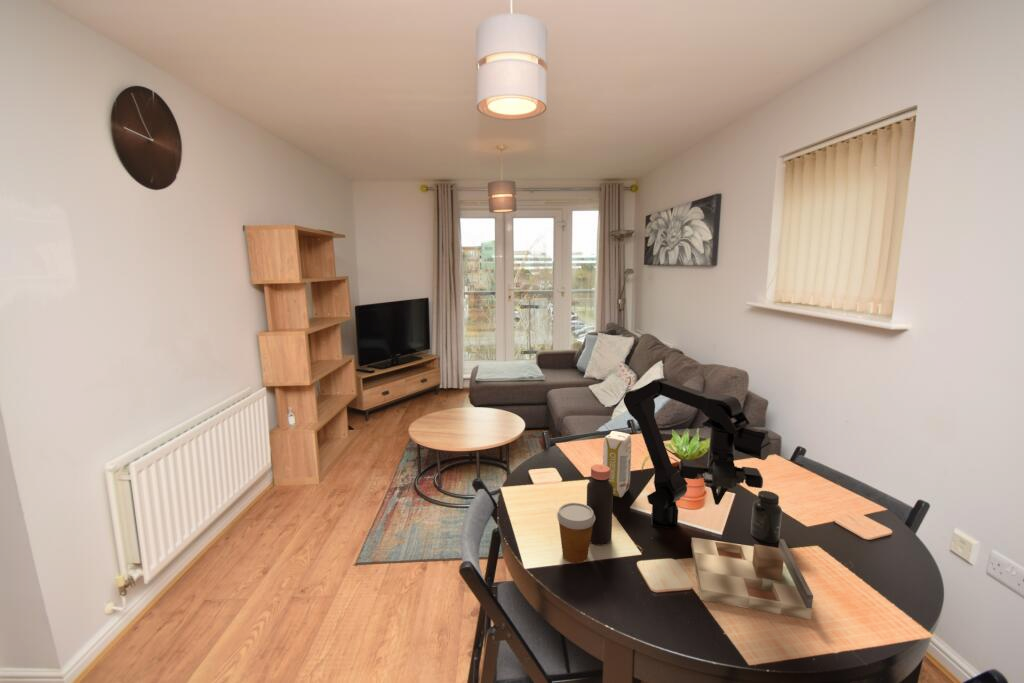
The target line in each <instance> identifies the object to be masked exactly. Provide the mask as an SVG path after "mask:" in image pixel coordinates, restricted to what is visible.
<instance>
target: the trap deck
mask: <svg viewBox="0 0 1024 683" xmlns="http://www.w3.org/2000/svg"><path fill="white" fill-rule="evenodd" d="M690 547H691V553H692V559H693V565H694V570H695V575H696V581H697V587H698V592H699V598H700V601H706V602H712V603H716V604H717V603H718V604H723V605H728V606H733V607H734V606H735V607H739V608H745V609H751V610H754V611H755V610H756V611H760V612H761V611H762V612H766V613H767V612H768V613H773V614H777V615H778V614H779V615H782V616H783V615H784V616H789V617H793V618H799V619H805V620H806V619H807V620H811V619H812V618H811V617H812V610H813V601H814V600H813V599H814V594H813V592H812V591H811V589H810V586H809V585H808V583H807V581H806V578H805V577H804V575H803V573H802V571H801V570H800V567H799V566H798V564H797V561H795V558H794V556H793V554H792V552H791V550H790V549H789V547H788V545H787V543H786V541H785V539H783V538H779V540H778V547H777V548H778V549H779V551H780V554H781V556H782V558H783V561H784V563H783V573H782V582H780V581H775V580H770V579H764V578H759V577H756V574H755V571H754V567H753V564H752V561H753V550H754V545H747V544H739V543H733V542H726V541H718V540H712V539H705V538H698V537H691V545H690Z"/></svg>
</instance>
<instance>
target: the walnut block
mask: <svg viewBox="0 0 1024 683" xmlns="http://www.w3.org/2000/svg"><path fill="white" fill-rule="evenodd" d="M753 546H754V550H753V561H752V564H753V567H754V571H755V574H756V577H759V578H764V579H770V580H775V581H780V582H782V573H783V563H784V561H783V558H782V556H781V554H780V551H779V549H778V547H775V546H769V545H762V544H755V543H754V544H753Z"/></svg>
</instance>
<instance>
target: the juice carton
mask: <svg viewBox="0 0 1024 683" xmlns="http://www.w3.org/2000/svg"><path fill="white" fill-rule="evenodd" d="M631 436H632V435H631V434H630V433H627V432H622V431H616V430H611V432H610V433H609V434H607V435H605V436H604V440H603V445H602V446H603V449H602V453H603V454H602V465H606V466H608V467H609V468H610V479H609V482H610V483H611V484H612V486H613V497H618V498H622V497H623V496H624V495H625V493H626V492H627V491H628V490H629V488H630V483H631V466H632V465H631V464H632V463H631V461H632V438H631Z"/></svg>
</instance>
